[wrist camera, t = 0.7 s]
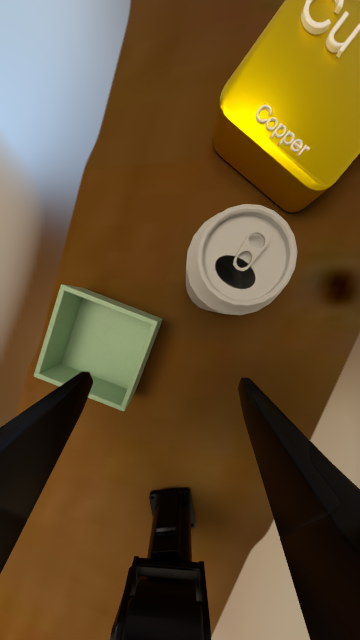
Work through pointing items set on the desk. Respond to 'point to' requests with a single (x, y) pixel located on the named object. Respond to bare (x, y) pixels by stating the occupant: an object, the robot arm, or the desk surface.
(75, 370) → the tray
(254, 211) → the can
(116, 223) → the desk surface
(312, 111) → the element tile
